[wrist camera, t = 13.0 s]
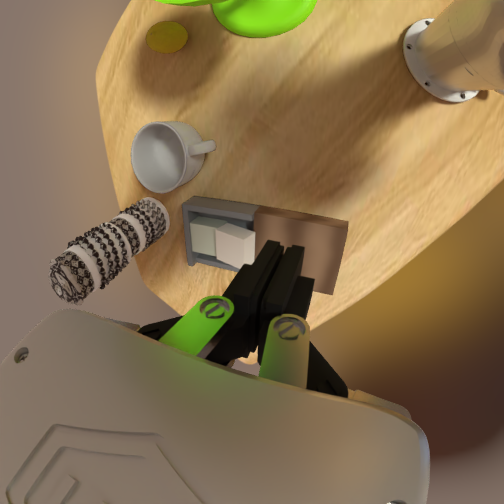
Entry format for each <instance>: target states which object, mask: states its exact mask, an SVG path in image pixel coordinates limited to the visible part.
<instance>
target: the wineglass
mask: <svg viewBox="0 0 504 504" xmlns="http://www.w3.org/2000/svg"><path fill="white" fill-rule="evenodd" d="M155 1H159V2H162V3H165V4H172V5H178V6H200V5H206V4H212V8H213V13H214V14H215V16H216V18H217V19H218V21H219V22H220V23H221V24H222V25H223V26H224V27H225V28H226V29H228V30H230V31H232V32H234V33H236V34H238V35H242V36H247V37H261V38H265V37H270V36H275V35H280V34H282V33H285V32H287V31H290V30H292V29H294V28H295V27H297V26H298V25H299V24H301V23H302V22H304V21H305V20H306V18H307V17H308V16H309V15H310V14H311V13H312V11H313V9H314V6H315V4H316V2H317V0H155Z"/></svg>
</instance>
